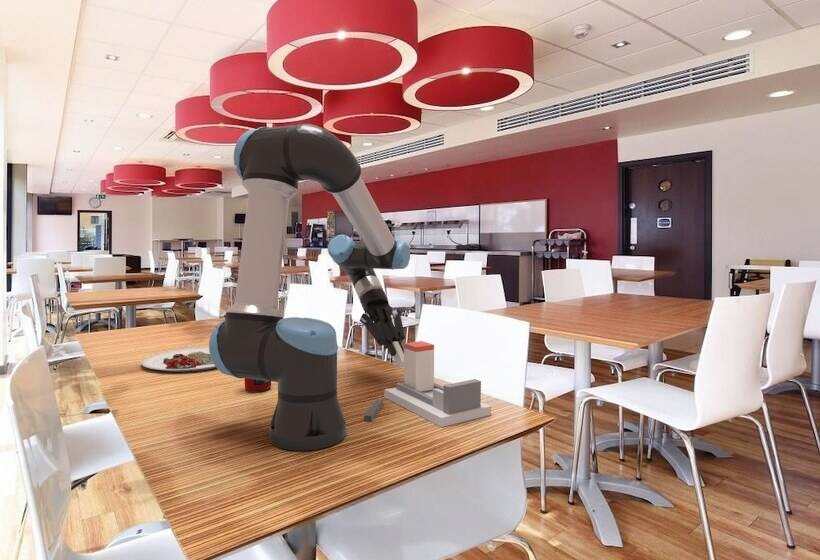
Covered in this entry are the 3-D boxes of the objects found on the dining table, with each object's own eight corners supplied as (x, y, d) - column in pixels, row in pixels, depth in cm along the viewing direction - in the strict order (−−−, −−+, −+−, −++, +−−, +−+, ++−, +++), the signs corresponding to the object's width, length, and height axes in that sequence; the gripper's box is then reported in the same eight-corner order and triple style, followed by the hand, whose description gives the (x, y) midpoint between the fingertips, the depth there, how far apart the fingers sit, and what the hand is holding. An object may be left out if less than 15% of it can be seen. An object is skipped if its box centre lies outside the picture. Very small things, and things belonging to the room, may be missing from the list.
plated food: (243, 350, 181) (243, 340, 180) (243, 370, 152) (243, 359, 152) (150, 355, 171) (150, 346, 171) (132, 379, 143) (131, 367, 143)
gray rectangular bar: (371, 423, 110) (371, 416, 109) (364, 422, 110) (364, 415, 110) (383, 405, 121) (383, 398, 121) (377, 405, 122) (377, 398, 121)
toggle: (403, 387, 127) (404, 343, 126) (421, 383, 130) (421, 341, 129) (415, 392, 122) (416, 347, 121) (433, 389, 125) (434, 344, 124)
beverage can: (263, 393, 129) (262, 347, 128) (239, 392, 130) (238, 346, 129) (275, 386, 135) (275, 342, 134) (252, 384, 137) (252, 341, 136)
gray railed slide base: (384, 397, 126) (384, 366, 126) (429, 388, 134) (430, 359, 133) (441, 427, 106) (441, 390, 106) (491, 414, 114) (491, 380, 113)
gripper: (386, 302, 151) (417, 368, 138) (347, 305, 144) (376, 375, 131) (395, 286, 146) (428, 353, 133) (355, 288, 139) (386, 360, 126)
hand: (402, 364), depth 132 cm, fingers closed
